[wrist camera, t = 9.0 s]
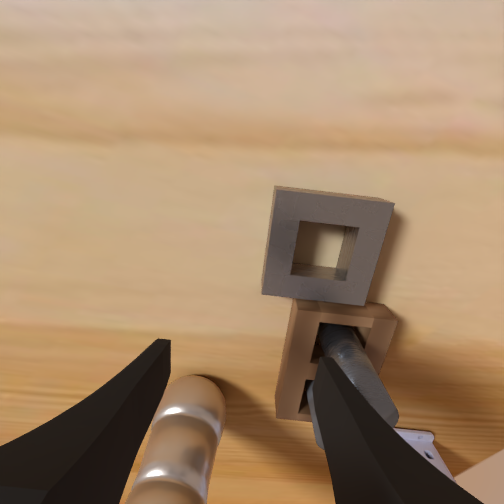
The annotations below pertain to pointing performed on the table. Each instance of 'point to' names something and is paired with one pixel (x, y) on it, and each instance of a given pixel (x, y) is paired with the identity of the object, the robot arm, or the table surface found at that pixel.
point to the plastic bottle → (181, 444)
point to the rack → (308, 355)
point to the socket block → (352, 251)
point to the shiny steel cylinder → (357, 367)
